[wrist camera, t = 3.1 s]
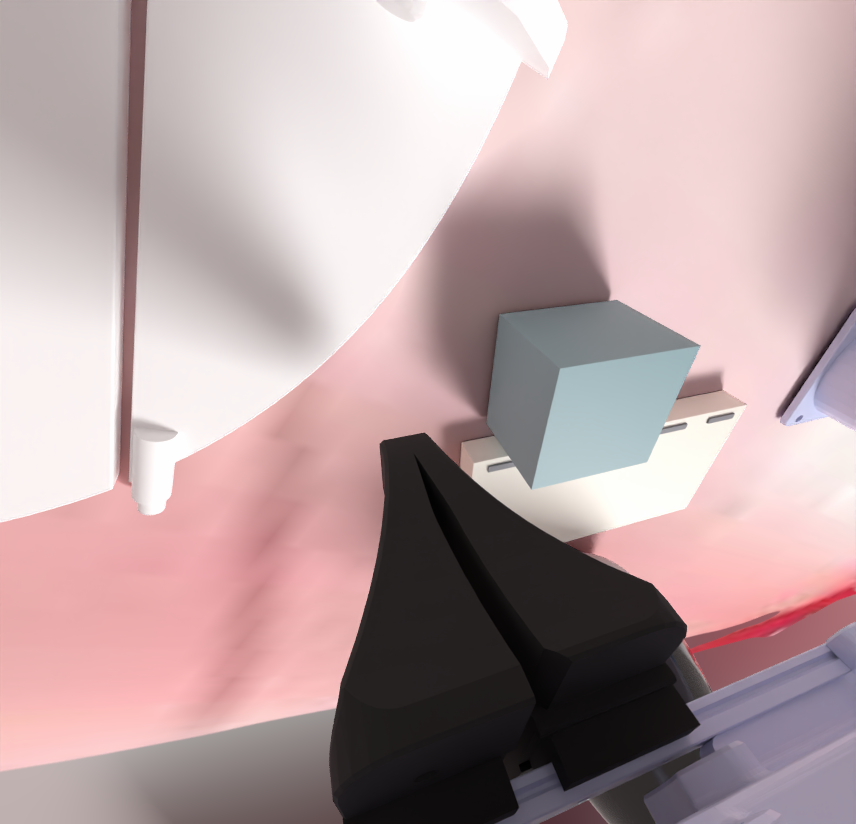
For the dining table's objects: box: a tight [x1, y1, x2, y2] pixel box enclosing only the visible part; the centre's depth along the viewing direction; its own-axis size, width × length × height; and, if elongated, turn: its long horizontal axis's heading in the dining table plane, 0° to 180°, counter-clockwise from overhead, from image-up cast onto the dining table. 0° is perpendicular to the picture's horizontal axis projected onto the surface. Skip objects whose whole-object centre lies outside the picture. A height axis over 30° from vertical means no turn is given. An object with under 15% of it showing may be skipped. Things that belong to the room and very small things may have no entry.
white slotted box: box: [460, 390, 747, 542], centre depth 21 cm, size 15×8×2 cm, turn 89°
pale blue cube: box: [486, 300, 700, 490], centre depth 15 cm, size 5×5×4 cm
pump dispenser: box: [584, 553, 712, 824], centre depth 22 cm, size 10×10×15 cm
